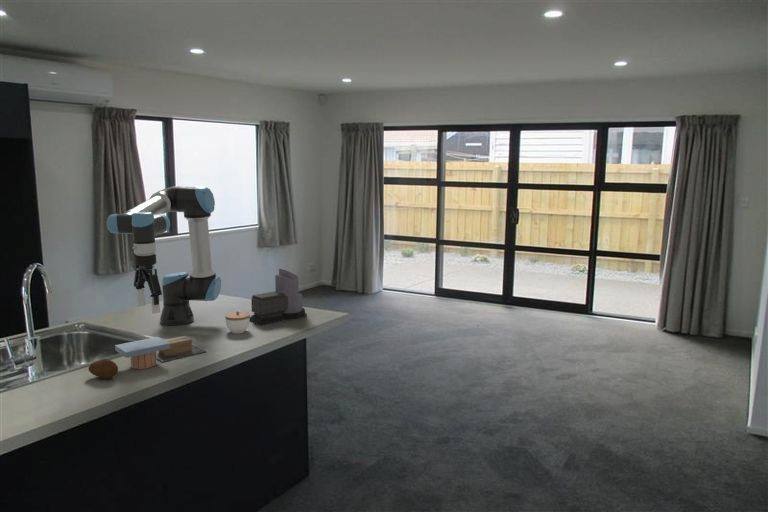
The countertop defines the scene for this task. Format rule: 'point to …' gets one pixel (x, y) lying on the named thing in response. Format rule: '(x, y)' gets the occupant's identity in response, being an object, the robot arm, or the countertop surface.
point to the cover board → (142, 347)
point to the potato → (103, 368)
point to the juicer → (278, 301)
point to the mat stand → (178, 349)
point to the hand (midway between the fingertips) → (148, 309)
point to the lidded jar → (237, 321)
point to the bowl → (143, 361)
